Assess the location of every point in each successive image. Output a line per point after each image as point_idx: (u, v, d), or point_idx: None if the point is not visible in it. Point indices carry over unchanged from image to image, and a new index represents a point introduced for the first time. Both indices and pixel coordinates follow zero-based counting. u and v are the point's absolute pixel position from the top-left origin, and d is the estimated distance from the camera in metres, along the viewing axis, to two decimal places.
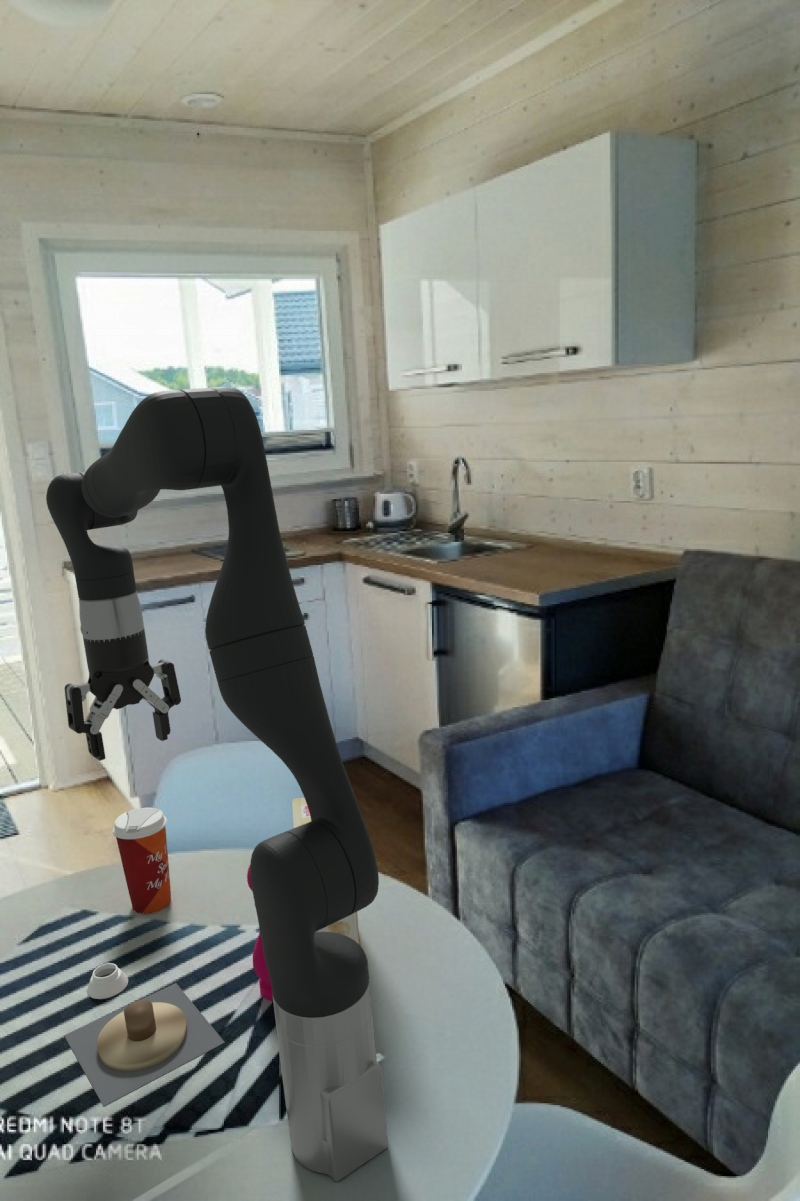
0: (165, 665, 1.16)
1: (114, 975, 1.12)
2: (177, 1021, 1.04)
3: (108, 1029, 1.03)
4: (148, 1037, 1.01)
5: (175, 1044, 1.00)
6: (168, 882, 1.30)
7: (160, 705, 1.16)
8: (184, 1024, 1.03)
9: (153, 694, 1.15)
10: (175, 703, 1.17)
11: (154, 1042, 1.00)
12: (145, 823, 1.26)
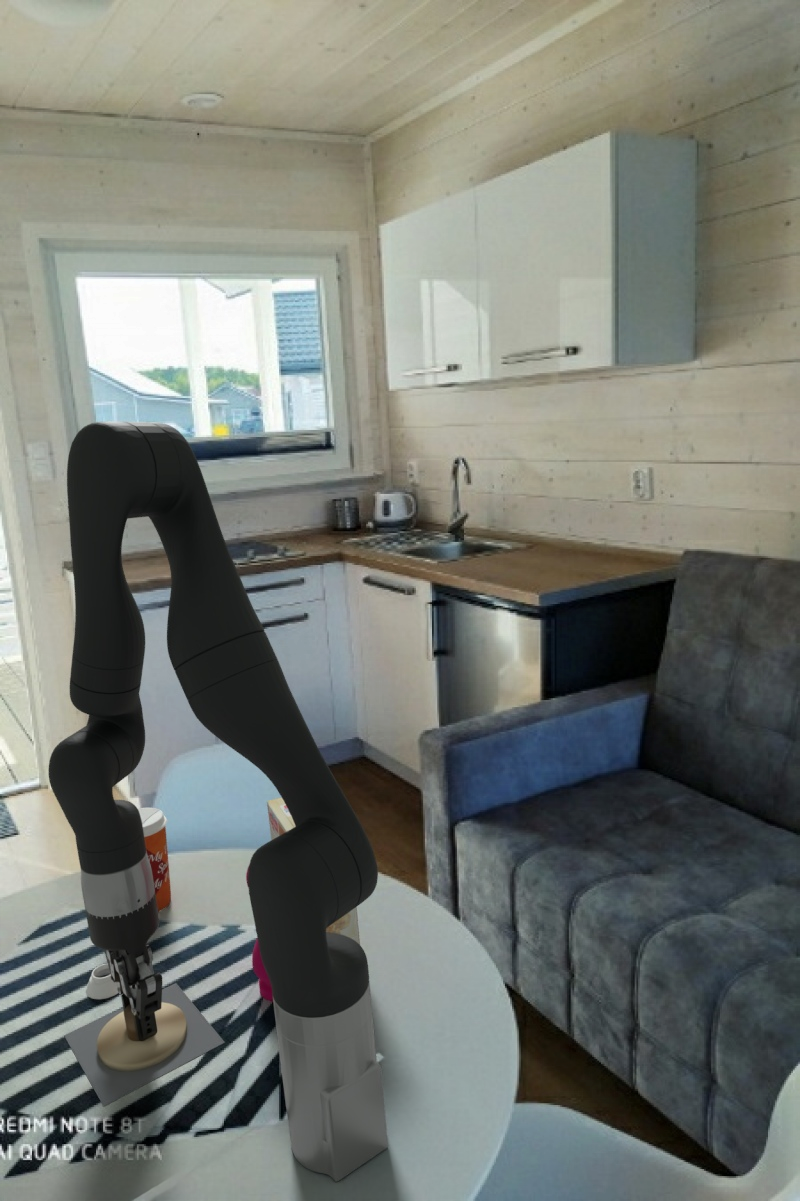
0: None
1: None
2: (177, 1021, 1.04)
3: (108, 1030, 1.03)
4: None
5: (175, 1043, 1.00)
6: (168, 882, 1.30)
7: None
8: (184, 1023, 1.03)
9: None
10: None
11: (154, 1042, 1.00)
12: (145, 823, 1.26)
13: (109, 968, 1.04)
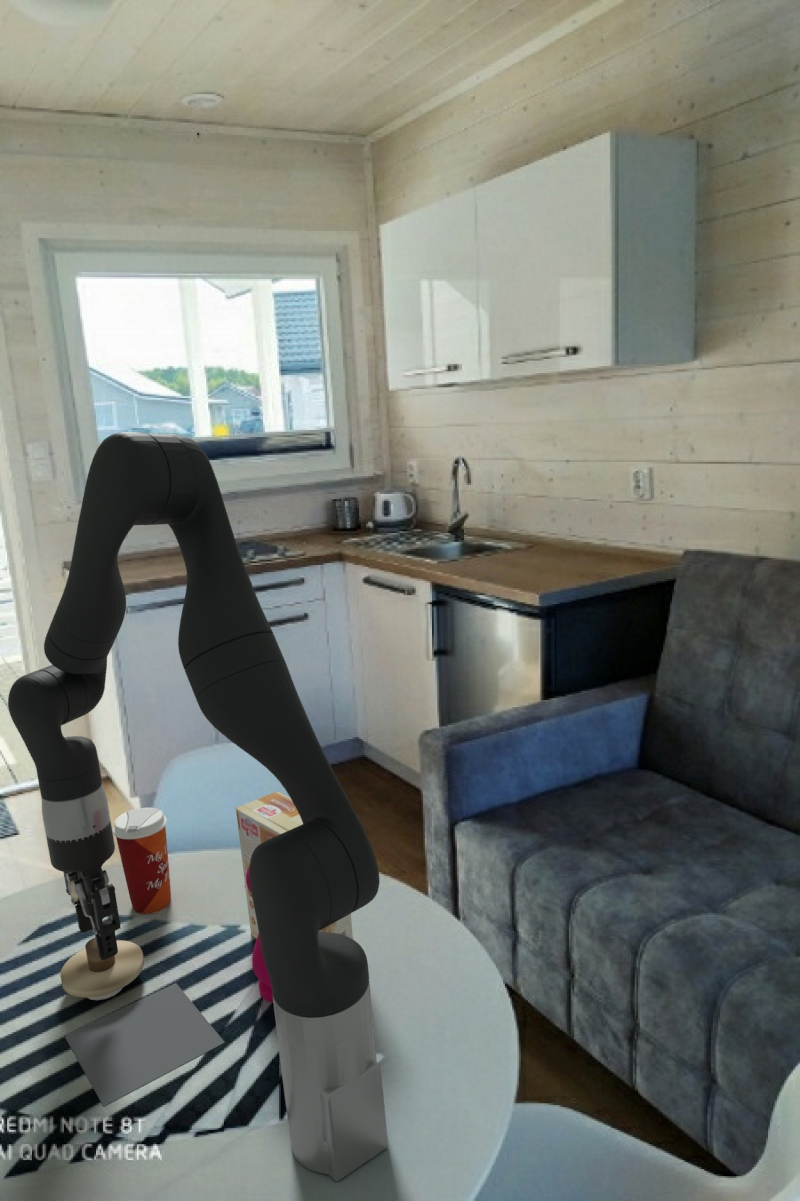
0: None
1: None
2: (135, 955, 1.13)
3: (71, 963, 1.12)
4: (107, 969, 1.11)
5: (132, 974, 1.10)
6: (168, 882, 1.30)
7: None
8: (141, 958, 1.12)
9: None
10: None
11: (113, 973, 1.10)
12: (145, 823, 1.26)
13: (65, 882, 1.14)
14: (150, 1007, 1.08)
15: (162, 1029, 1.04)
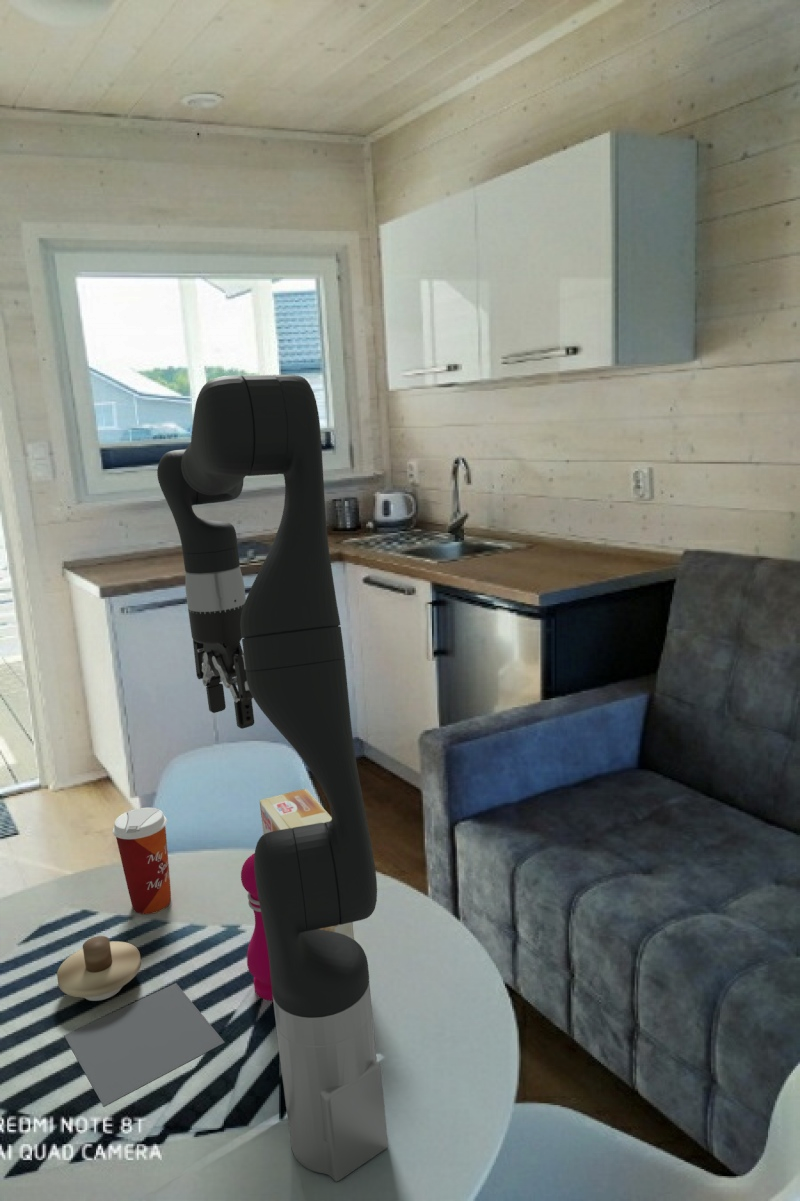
0: None
1: None
2: (132, 957, 1.13)
3: (69, 962, 1.12)
4: (104, 969, 1.11)
5: (128, 975, 1.09)
6: (168, 882, 1.30)
7: None
8: (138, 959, 1.12)
9: None
10: None
11: (109, 973, 1.10)
12: (145, 823, 1.26)
13: (196, 667, 1.23)
14: (150, 1007, 1.08)
15: (162, 1029, 1.04)
